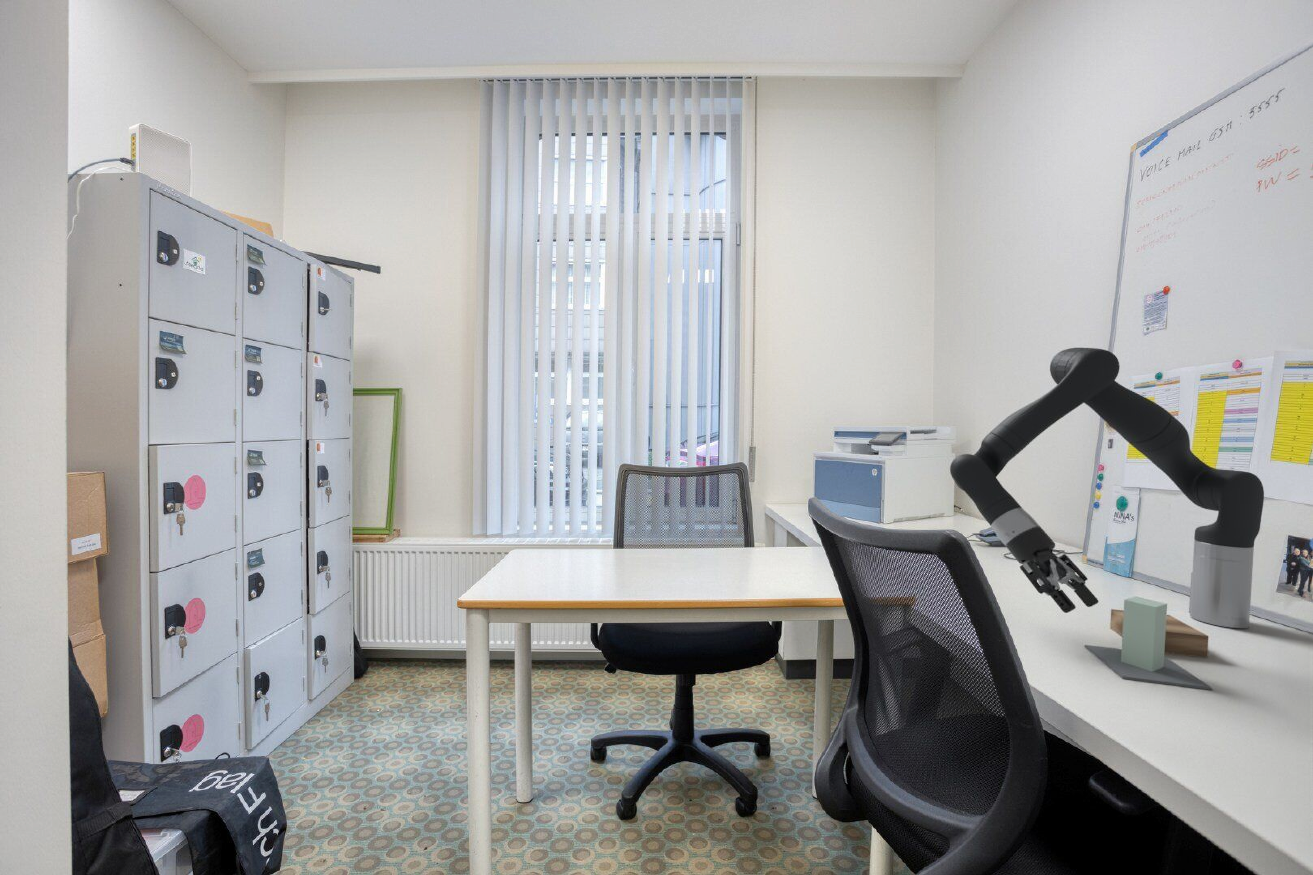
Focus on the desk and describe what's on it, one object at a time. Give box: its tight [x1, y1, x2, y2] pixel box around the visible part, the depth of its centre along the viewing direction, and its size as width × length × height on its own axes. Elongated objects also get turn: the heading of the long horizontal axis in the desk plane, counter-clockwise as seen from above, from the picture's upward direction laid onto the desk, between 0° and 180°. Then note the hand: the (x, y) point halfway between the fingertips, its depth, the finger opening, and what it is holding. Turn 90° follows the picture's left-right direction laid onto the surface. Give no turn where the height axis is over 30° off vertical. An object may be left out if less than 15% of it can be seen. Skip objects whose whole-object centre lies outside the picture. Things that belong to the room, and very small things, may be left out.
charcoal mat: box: [1083, 644, 1213, 691], centre depth 99 cm, size 14×12×1 cm
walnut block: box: [1109, 608, 1209, 659], centre depth 111 cm, size 12×10×4 cm
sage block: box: [1121, 596, 1168, 672], centre depth 99 cm, size 4×4×11 cm
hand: (1082, 607), depth 107 cm, fingers open, 8 cm apart
